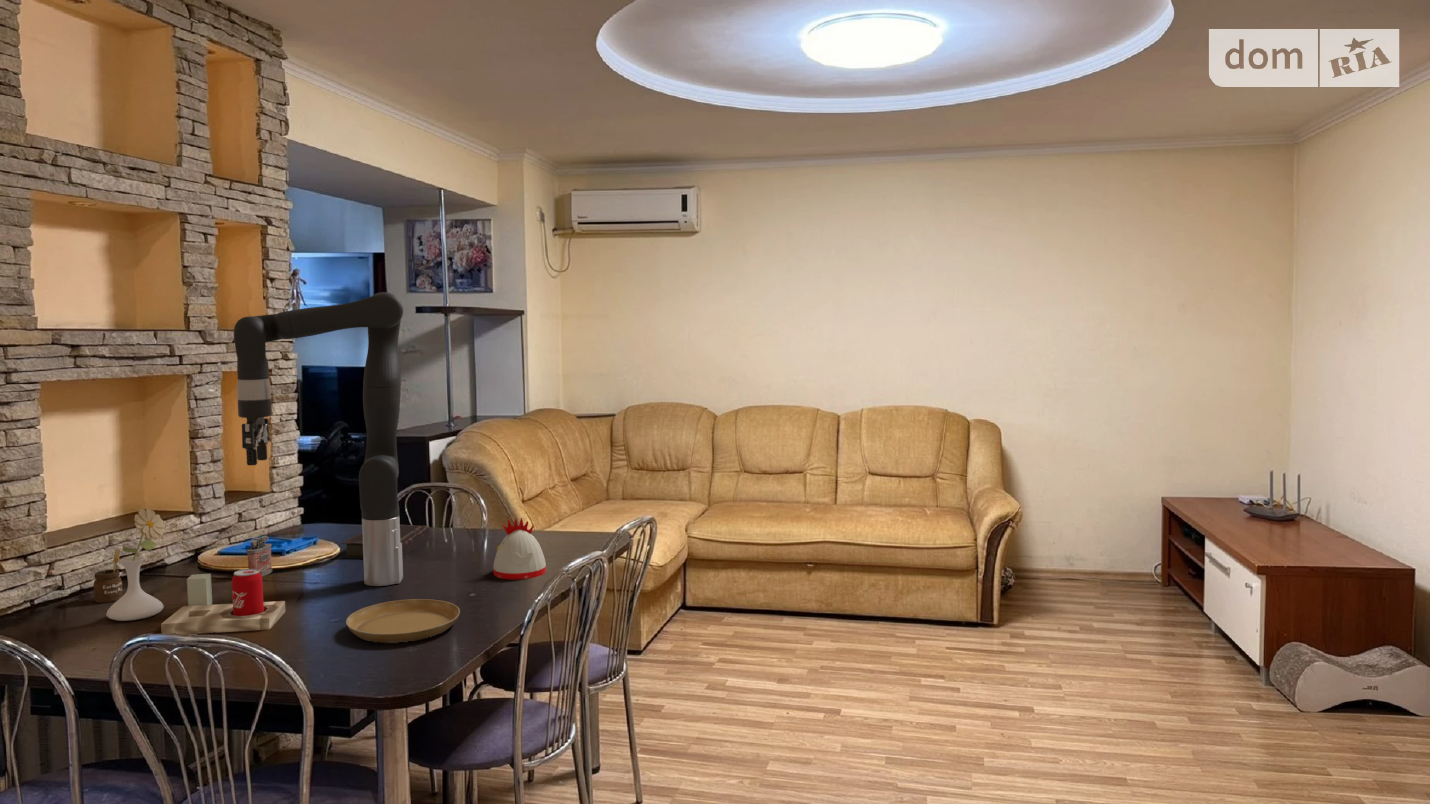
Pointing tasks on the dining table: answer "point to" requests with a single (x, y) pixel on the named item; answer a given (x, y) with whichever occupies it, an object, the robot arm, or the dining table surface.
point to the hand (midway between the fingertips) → (257, 462)
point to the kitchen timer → (519, 554)
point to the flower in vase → (135, 599)
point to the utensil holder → (108, 583)
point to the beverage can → (247, 592)
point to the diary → (408, 538)
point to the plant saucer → (403, 620)
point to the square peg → (199, 590)
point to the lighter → (260, 555)
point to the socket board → (221, 619)
